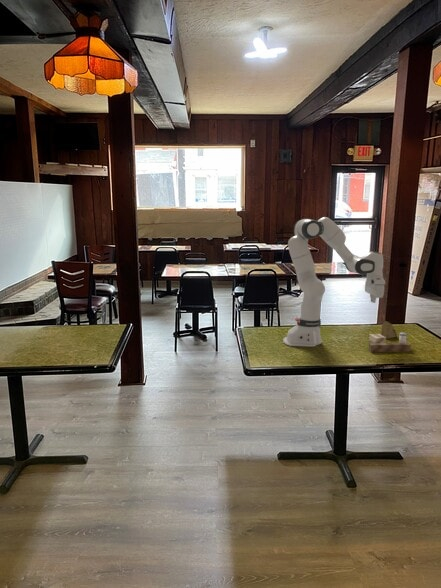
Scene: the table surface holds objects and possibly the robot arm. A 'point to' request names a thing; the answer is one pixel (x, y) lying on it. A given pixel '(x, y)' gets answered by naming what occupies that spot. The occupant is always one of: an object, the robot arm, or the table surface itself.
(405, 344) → the brown wooden bar
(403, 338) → the salt shaker
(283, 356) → the table surface
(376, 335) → the maple block
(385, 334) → the rock
